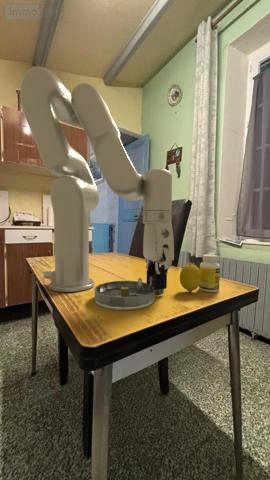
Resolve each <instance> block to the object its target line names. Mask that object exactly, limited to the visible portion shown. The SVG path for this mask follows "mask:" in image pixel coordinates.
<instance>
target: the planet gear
mask: <svg viewBox="0 0 270 480" xmlns="http://www.w3.org/2000/svg"><path fill="white" fill-rule="evenodd" d="M150 285H152V286H153V287H154V288H155V275H152V276H150ZM164 291H165V289H157V290H156V289H155V295H162V294H164V293H165V292H164Z"/></svg>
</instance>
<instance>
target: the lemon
mask: <svg viewBox="0 0 270 480" xmlns="http://www.w3.org/2000/svg"><path fill="white" fill-rule="evenodd" d="M200 282H201V274H200V268H198V266H196V265H195V264H193V263H192V262H189V263H188V264H185V265H184V266H183V267H182V268H181V270H180V273H179V283H180V285H181V287H182V288H183V289H184V290H186V291H187V292H188V293H192V292H193V291H196V290H197V289H199V285H200Z"/></svg>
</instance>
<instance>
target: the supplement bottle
mask: <svg viewBox="0 0 270 480" xmlns="http://www.w3.org/2000/svg"><path fill="white" fill-rule="evenodd" d="M218 260H219V256H218V255H215V254H203V255H202V262H200V264H199V271H200V274H201V282H200V285H199V287H198V289H199V290H200V291H201V292H202V291H203V292H206V293H217V292H219V291H220V284H221V283H220V282H221V281H220V280H221V277H220V276H221V266H220V264H219V263H218Z"/></svg>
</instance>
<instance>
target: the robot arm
mask: <svg viewBox="0 0 270 480" xmlns="http://www.w3.org/2000/svg"><path fill="white" fill-rule="evenodd" d="M19 95H20V96H19V98H20V103H21V104H20V105H21V109H22V112H23V114H24V117H25V120H26V122H27V124H28V125H27V126H28V127H29V129H30V132H31V134H32V137H33V139H34V143H35V145H36V148H37V150H38V153H39V155H40V158H41V161H42V163H43V165H44V168H45V169H46V171H47V172H49V173H51V174H52V175H54V176H56V177H57V178H56V179H55V180H54V181H53V182H52V184H51V186H50V193H49V194H50V201H51V208H52V214H53V227H54V229H53V230H54V231H53V232H54V270H53V271H51V270H45V271H44V274H43V279H50V280H51V282H50V283H49V284H48V285H49V287H48V288H49V289H50V290H52V291H54V292H60V293H61V292H62V293H71V292H72V293H74V292H81V291H86V290H89V289H91V288H93V287H94V286H95V280H94V279H92V278H90V232H89V231H90V229H89V228H90V226H89V218H88V213H90V212H92V211H93V210H95V209H96V208H97V207H98V205H99V201H100V194H99V191H98V188H97V185H96V182H95V180H94V177H93V175H92V172H91V170H90V167H89V164H88V163H87V161H86V160H85V158H84V156H82V155H81V154H80V153H79V152H78V151H77V150H75V149H74V148H73V147H72V146H71V145H70V143H69V142H68V139H67V137H66V135H65V132H64V130H63V127H62V125H61V122H62V123H64V124H66V125H69V126H71V127H76V128H79V129H82V130H83V131H84V133H85V135H86V137H87V139H88V142H89V144H90V146H91V149H92V152H93V156H94V158H95V161H96V164H97V166H98V167H99V170H100V172H101V175H102V176H103V177H104V180H105V182H106V184H107V185H108V188H109V189H110V190H111V191H112V192H113V194H115V195H116V196H118V197H120V198H122V199H124V200H125V201H129V202H133V201H135V202H136V201H140V200H141V201H142V200H143V201H142V224H144V229H143V238H142V239H143V240H142V241H143V243H142V254H143V258H144V259H145V264H146V265H145V269H146V281H145V283H147V284H150V276H152V275H155V289H156V290H157V289H164V290H165V289H167V287H168V286H167V285H168V279H167V278H168V273H169V268H170V267H171V266H172V265H173V261H174V260H175V259H174V258H175V242H174V241H175V239H174V230H173V226H172V207H173V205H172V203H173V201H172V200H173V174H172V173H171V171H170V170H167V169H163V168H153V169H149V170H147V171H146V172H144V174H141V173H139V172H137V170H136V168H135V166H134V165H133V163H132V161H131V159H130V157H129V156H128V155H129V154H127V151H126V149H125V147H124V146H123V143H122V140H121V133H120V130H119V128H118V127H117V124H116V123H115V120H114V119H113V116H112V115H111V111H110V109H109V107H108V105H107V104H106V102H105V100H104V99H103V97H102V95H101V93H100V92H99V90H97V88H95V87H94V85H92V84H91V83H87V82H82V83H78V84H76V85H75V86H74V87H73V89H72V91H71V92H70V90H69V89H68V88H67V87H66V85H65V84H64V83H63V82H62V80H61V79H59V77H58V76H57V75H56V74H55V73H53V72H52V71H51V70H49V69H48V68H46V67H43V66H33V67H31V68H29V69H28V70H27V71H26V73H25V74H24V76H23V79H22V81H21V85H20V92H19Z"/></svg>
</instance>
